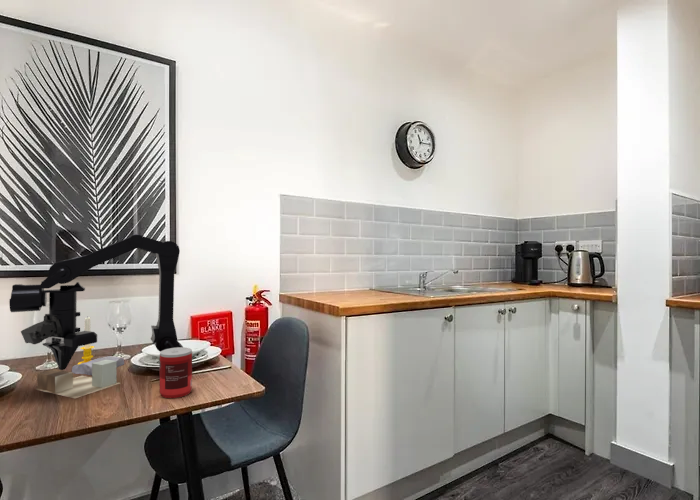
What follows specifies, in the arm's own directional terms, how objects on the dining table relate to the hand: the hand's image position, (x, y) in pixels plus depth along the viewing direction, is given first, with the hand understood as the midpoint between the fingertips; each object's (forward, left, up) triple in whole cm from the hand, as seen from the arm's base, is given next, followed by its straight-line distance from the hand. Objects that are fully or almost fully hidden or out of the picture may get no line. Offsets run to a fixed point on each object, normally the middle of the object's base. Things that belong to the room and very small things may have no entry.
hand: (62, 369), depth 101 cm
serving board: (-1, -4, -6) cm, 7 cm away
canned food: (-27, -12, -6) cm, 30 cm away
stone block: (+10, -16, -7) cm, 20 cm away
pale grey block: (-6, -7, -5) cm, 11 cm away
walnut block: (-1, 0, -3) cm, 3 cm away
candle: (+20, -20, -6) cm, 29 cm away
